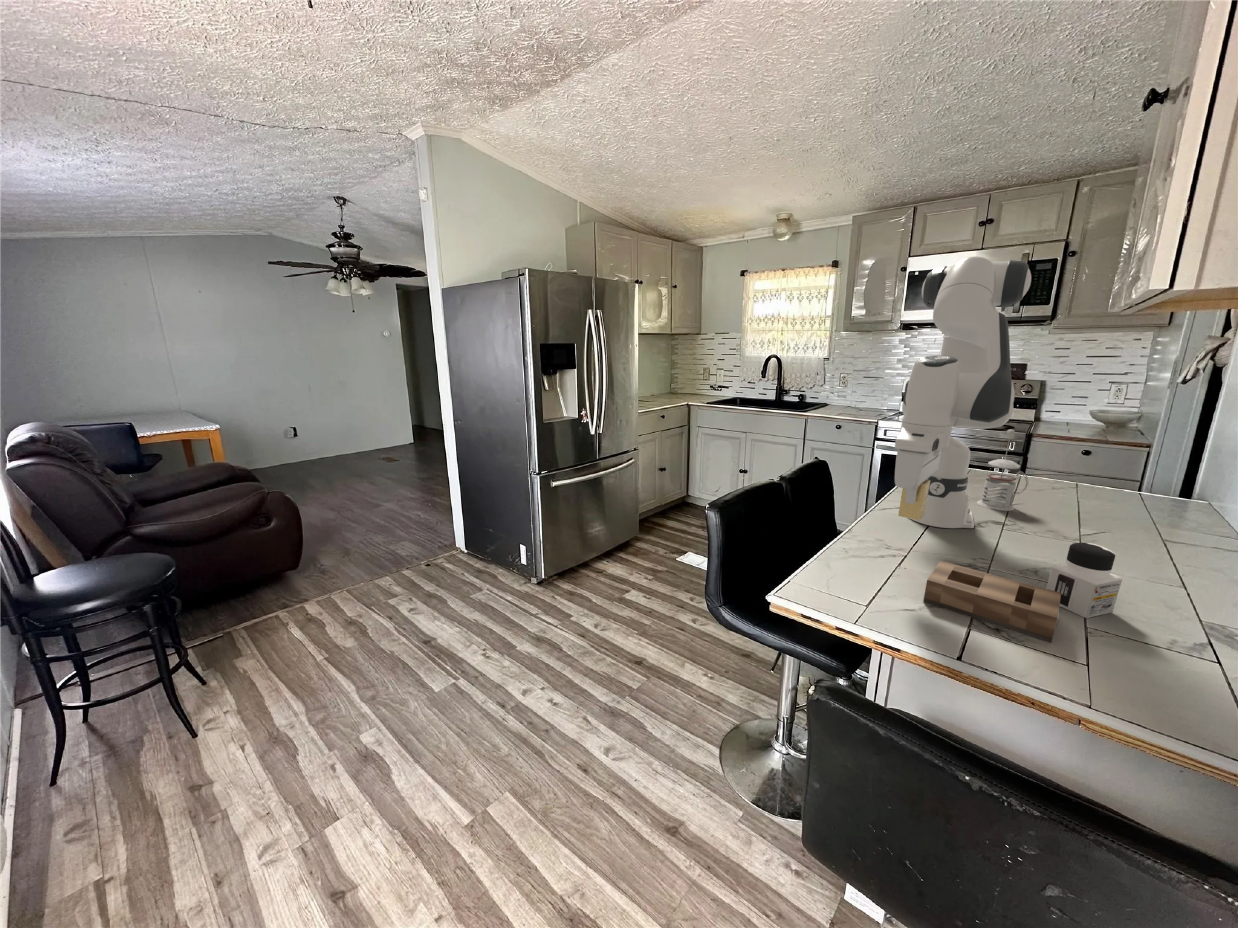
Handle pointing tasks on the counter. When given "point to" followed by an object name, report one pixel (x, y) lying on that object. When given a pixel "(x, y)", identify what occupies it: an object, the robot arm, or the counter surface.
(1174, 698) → the counter surface
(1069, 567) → the container
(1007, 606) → the walnut socket block
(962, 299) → the robot arm
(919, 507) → the light wooden square bit
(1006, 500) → the french press
